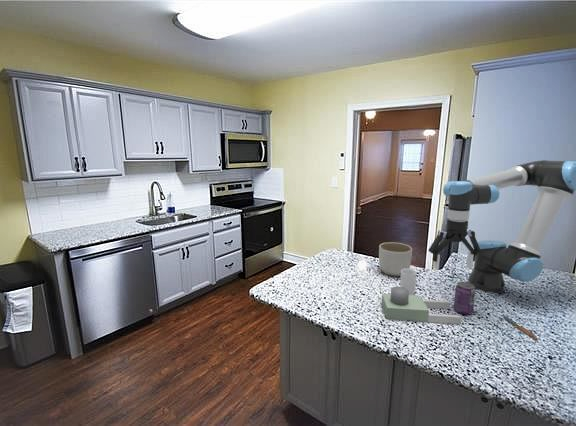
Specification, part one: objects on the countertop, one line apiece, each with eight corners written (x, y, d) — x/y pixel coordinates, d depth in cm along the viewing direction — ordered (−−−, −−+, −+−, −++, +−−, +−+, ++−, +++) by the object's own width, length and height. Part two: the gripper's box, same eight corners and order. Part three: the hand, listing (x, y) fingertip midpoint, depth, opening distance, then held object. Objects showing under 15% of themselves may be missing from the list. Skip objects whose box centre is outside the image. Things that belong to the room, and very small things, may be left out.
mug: (416, 299, 132) (418, 275, 129) (401, 298, 133) (403, 274, 130) (410, 288, 142) (412, 266, 139) (396, 288, 143) (397, 265, 140)
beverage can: (470, 308, 124) (473, 282, 121) (474, 317, 117) (478, 290, 115) (451, 305, 126) (454, 280, 123) (455, 314, 119) (458, 287, 117)
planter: (383, 264, 172) (384, 240, 169) (413, 270, 162) (415, 245, 159) (373, 274, 159) (374, 248, 155) (405, 282, 149) (407, 254, 146)
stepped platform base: (448, 307, 124) (450, 286, 122) (460, 324, 113) (463, 301, 110) (381, 303, 129) (382, 282, 127) (386, 319, 117) (387, 296, 115)
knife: (496, 313, 118) (502, 313, 118) (495, 315, 118) (502, 315, 119) (533, 339, 102) (540, 338, 102) (532, 341, 102) (540, 341, 102)
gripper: (483, 216, 119) (477, 264, 124) (422, 218, 120) (418, 265, 125) (495, 221, 112) (488, 271, 117) (430, 222, 113) (426, 272, 118)
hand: (452, 268), depth 121 cm, fingers open, 13 cm apart
